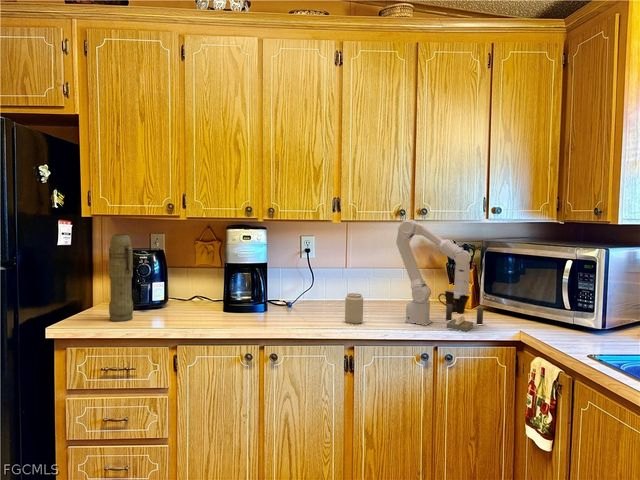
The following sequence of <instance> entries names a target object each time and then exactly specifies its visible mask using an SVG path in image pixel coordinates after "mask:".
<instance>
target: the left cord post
mask: <svg viewBox="0 0 640 480" xmlns="http://www.w3.org/2000/svg"><path fill="white" fill-rule="evenodd" d="M445 307H446V308H445V309H446V310H445V320H446V319H447V320H453V319H452V317H453V313H452V304H447V305H446V306H445ZM447 320H446V321H447Z"/></svg>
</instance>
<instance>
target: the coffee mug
mask: <svg viewBox="0 0 640 480" xmlns="http://www.w3.org/2000/svg"><path fill="white" fill-rule="evenodd" d="M441 296H445V302H443V301H442V300H441V299H440V297H441ZM453 296H454V289H450V288H447V289H445V290H444V293H440V294H438V301H439V302H440V303H441V304H443V305H444V306H445V307H446V305H447V304H452V312H457V308H456V303H455V301H454V299H453Z"/></svg>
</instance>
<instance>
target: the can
mask: <svg viewBox="0 0 640 480" xmlns="http://www.w3.org/2000/svg"><path fill="white" fill-rule="evenodd" d="M363 318H364V298H363V294H362V293H358V292H357V293H356V292H355V293H354V292H352V293H351V292H350V293H347V295H346V297H345V301H344V321H345V322H346V323H347V324H350V325H351V324H352V325H360V324H361V323H362V322H363V320H364V319H363Z"/></svg>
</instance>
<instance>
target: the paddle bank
mask: <svg viewBox="0 0 640 480" xmlns="http://www.w3.org/2000/svg"><path fill="white" fill-rule="evenodd" d="M465 317H466V316H465V315H460V316H459V317H458V318H455V319H456V323H455V324H457V325H459V324H461V323H462V322H463V321H466V319H465Z"/></svg>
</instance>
